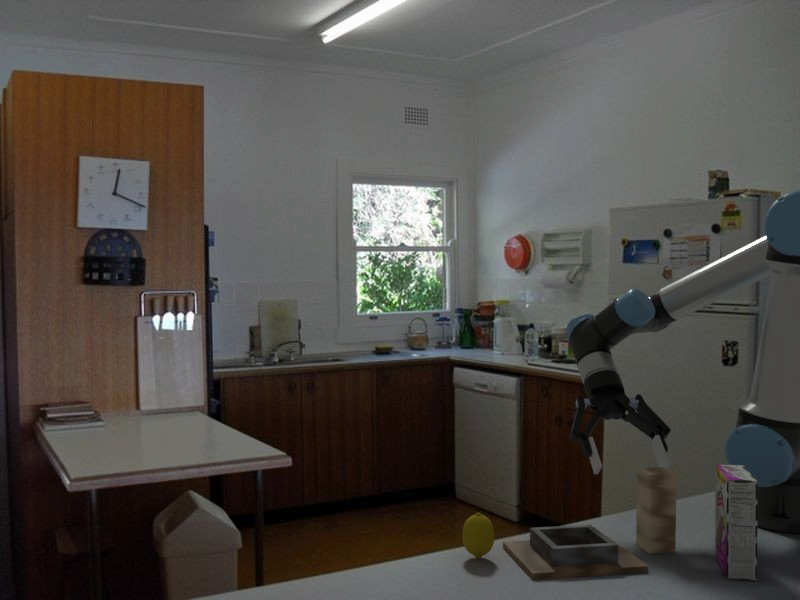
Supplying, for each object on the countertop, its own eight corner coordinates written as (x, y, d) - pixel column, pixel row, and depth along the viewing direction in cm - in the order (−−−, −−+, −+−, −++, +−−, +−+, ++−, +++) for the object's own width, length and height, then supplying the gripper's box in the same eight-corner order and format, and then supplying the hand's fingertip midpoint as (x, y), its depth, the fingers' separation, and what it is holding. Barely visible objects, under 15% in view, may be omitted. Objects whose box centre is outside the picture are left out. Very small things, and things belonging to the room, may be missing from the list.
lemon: (500, 558, 141) (500, 512, 141) (481, 566, 137) (481, 519, 137) (475, 551, 145) (475, 506, 144) (455, 558, 141) (455, 512, 140)
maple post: (661, 542, 149) (662, 467, 149) (675, 551, 144) (676, 473, 144) (636, 544, 149) (637, 468, 148) (649, 553, 144) (650, 474, 143)
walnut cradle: (607, 541, 150) (607, 519, 150) (648, 572, 134) (648, 548, 134) (502, 547, 147) (503, 525, 147) (532, 579, 131) (532, 554, 131)
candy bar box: (712, 556, 142) (714, 463, 142) (743, 558, 141) (744, 464, 141) (725, 580, 131) (726, 478, 131) (758, 582, 130) (759, 480, 130)
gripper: (651, 389, 173) (686, 477, 158) (538, 391, 168) (564, 481, 154) (663, 367, 167) (701, 456, 153) (547, 369, 163) (575, 460, 149)
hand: (632, 469), depth 153 cm, fingers open, 13 cm apart
